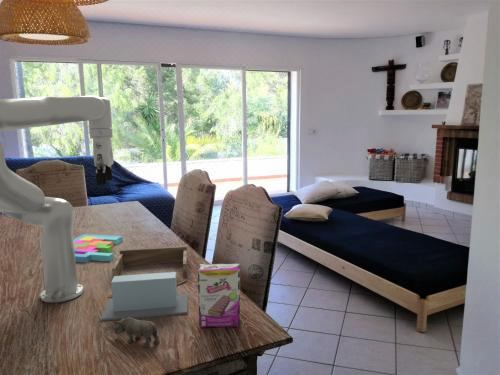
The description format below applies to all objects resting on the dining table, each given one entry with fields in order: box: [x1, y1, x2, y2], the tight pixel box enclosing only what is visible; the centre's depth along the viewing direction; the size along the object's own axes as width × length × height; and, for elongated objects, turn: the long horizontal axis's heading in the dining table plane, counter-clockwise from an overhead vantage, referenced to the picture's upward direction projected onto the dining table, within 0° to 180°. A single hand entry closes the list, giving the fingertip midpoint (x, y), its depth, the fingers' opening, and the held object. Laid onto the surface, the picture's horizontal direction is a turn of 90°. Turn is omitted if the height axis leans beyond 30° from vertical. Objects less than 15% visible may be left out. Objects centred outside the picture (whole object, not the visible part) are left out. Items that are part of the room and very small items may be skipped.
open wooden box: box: [111, 245, 188, 279], centre depth 147 cm, size 17×25×6 cm
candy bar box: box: [197, 263, 241, 328], centre depth 107 cm, size 11×5×16 cm, turn 92°
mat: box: [99, 293, 189, 322], centre depth 118 cm, size 12×24×1 cm, turn 98°
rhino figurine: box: [110, 317, 160, 348], centre depth 101 cm, size 4×14×6 cm, turn 69°
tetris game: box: [73, 233, 124, 263], centre depth 171 cm, size 28×3×28 cm
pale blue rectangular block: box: [110, 271, 178, 312], centre depth 118 cm, size 4×18×9 cm, turn 99°
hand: (104, 182), depth 142 cm, fingers open, 9 cm apart
